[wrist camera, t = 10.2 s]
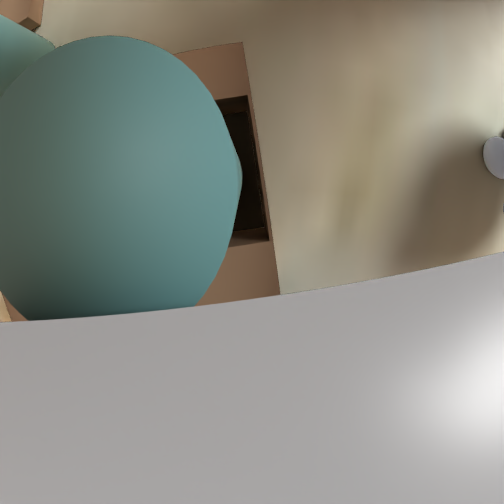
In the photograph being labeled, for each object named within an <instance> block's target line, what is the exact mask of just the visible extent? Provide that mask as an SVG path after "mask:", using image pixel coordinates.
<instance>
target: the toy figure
mask: <svg viewBox="0 0 504 504" xmlns="http://www.w3.org/2000/svg"><path fill="white" fill-rule="evenodd" d="M483 157H484V162H485V165H486V167H487V168H488V170H489V171H490V172H491V173H492V174H493V175H494V176H496V177H497V178H500V179H504V139H503V138H501V137H497V136H496V137H491V138H489V139H488V140H487V142H486V143H485V145H484V149H483ZM503 212H504V204H503Z"/></svg>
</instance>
